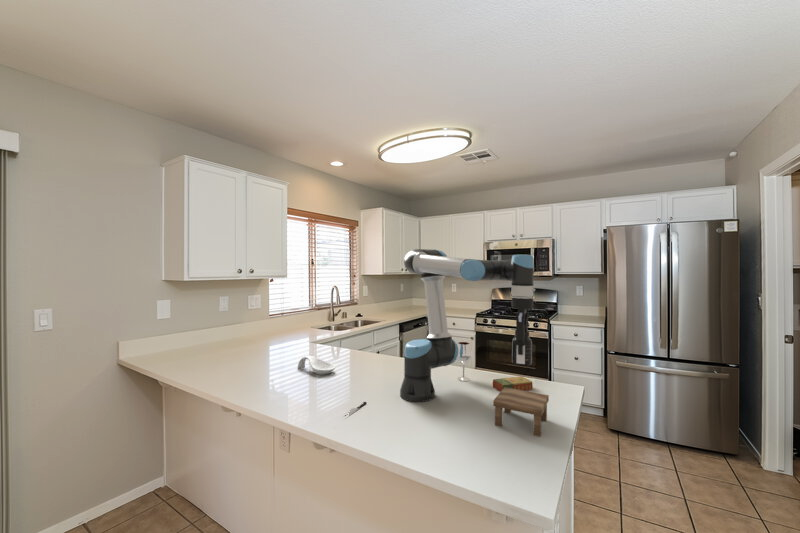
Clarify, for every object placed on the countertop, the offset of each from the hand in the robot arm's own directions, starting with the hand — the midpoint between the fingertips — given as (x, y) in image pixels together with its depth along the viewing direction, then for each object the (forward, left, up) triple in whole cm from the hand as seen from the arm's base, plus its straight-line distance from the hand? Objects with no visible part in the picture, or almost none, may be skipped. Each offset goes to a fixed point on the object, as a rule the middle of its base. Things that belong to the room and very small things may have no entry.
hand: (521, 360), depth 125 cm
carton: (+19, +31, -23) cm, 43 cm away
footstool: (0, 0, -22) cm, 22 cm away
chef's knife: (-57, +29, -23) cm, 67 cm away
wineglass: (+4, +49, -23) cm, 54 cm away
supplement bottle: (0, 0, -1) cm, 1 cm away
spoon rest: (-65, +85, -23) cm, 109 cm away
